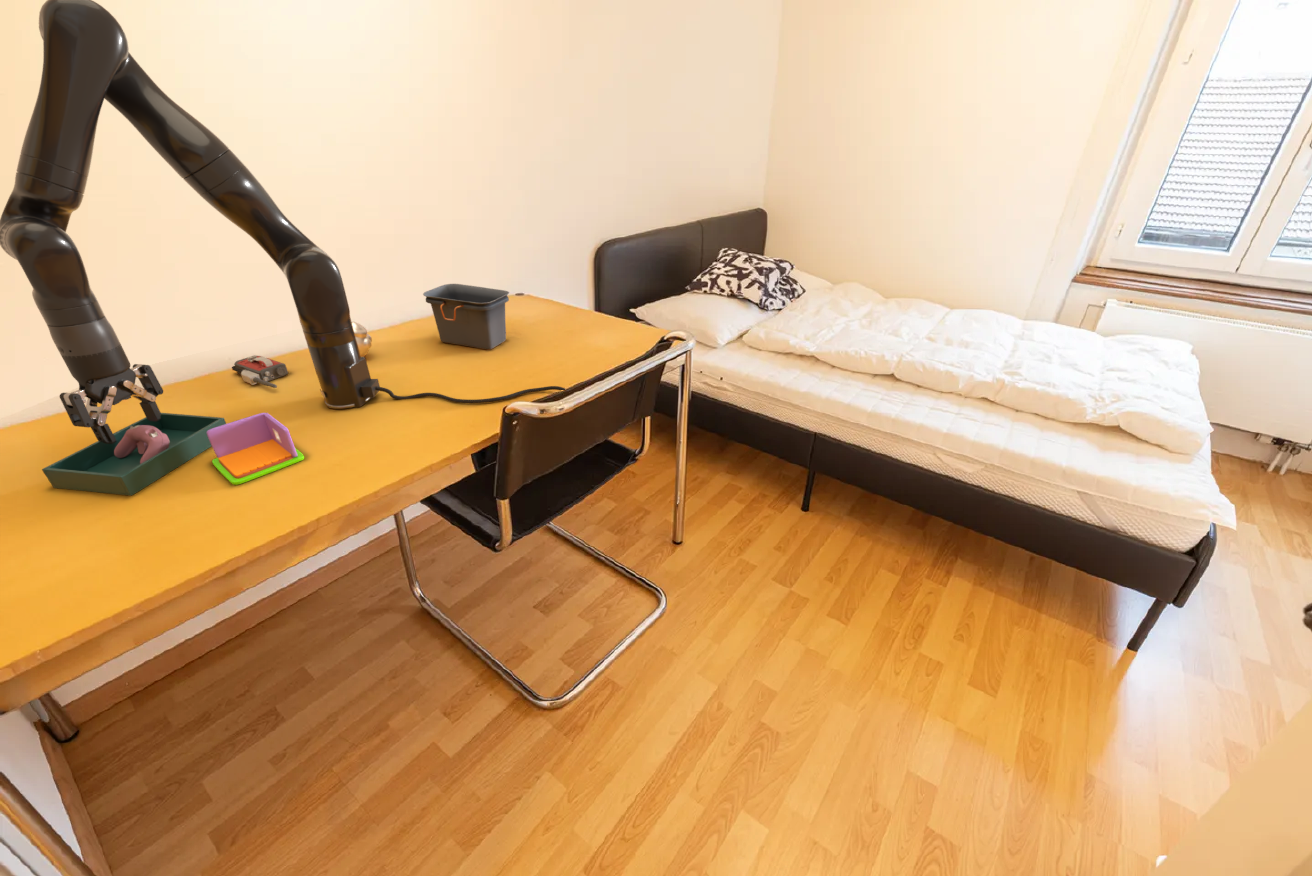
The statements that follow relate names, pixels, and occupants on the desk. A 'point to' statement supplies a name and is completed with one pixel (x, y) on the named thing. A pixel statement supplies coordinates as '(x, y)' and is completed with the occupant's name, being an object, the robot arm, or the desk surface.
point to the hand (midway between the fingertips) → (133, 431)
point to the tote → (133, 457)
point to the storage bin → (469, 314)
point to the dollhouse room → (252, 448)
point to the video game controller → (142, 442)
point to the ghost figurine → (362, 338)
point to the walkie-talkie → (260, 370)
